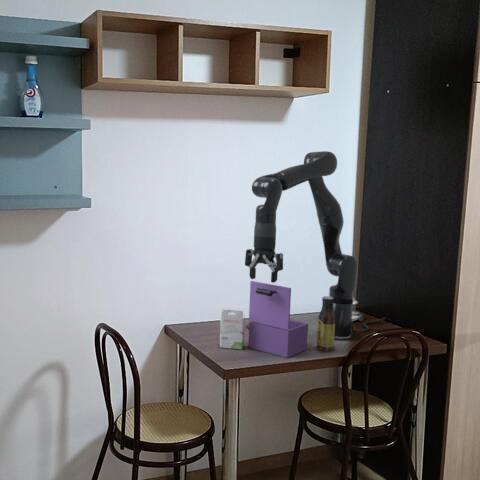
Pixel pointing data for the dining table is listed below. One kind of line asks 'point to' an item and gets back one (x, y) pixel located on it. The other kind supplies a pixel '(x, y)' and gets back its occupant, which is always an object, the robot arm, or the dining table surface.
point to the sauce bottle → (326, 325)
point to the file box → (279, 338)
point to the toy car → (356, 313)
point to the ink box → (232, 329)
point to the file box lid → (270, 304)
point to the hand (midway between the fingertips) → (263, 280)
